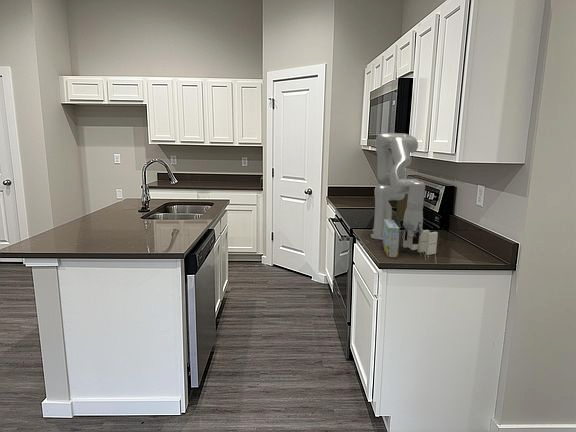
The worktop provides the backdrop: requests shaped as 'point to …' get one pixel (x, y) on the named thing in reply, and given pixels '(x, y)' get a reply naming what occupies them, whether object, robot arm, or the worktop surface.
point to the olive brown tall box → (401, 208)
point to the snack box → (390, 238)
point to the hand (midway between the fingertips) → (411, 241)
